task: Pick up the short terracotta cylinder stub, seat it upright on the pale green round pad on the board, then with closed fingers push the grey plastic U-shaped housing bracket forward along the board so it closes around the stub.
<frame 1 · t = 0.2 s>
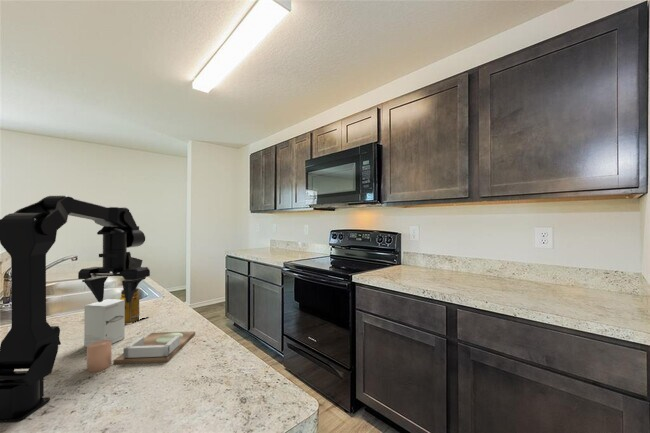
hand: (114, 302, 83), 14 cm above the countertop, tool pointing down, fingers open, 9 cm apart
supplement box: (105, 343, 88), on the countertop
stub: (99, 367, 73), on the countertop
housing bracket: (153, 346, 79), point 3 cm above the countertop, slide at 0.0 cm
condiment: (132, 320, 107), on the countertop
board: (159, 347, 84), on the countertop
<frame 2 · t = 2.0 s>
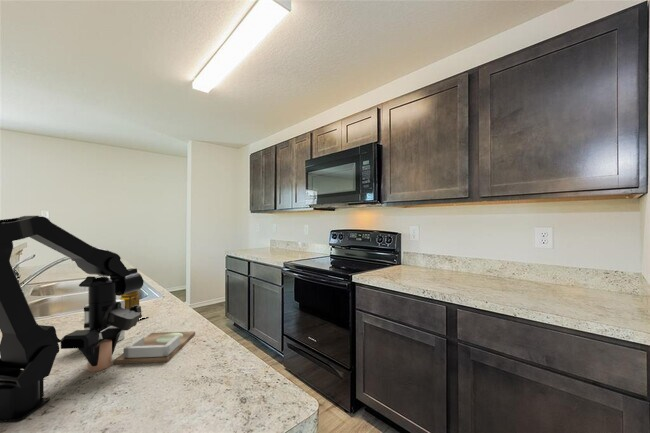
hand: (102, 360, 73), 1 cm above the countertop, tool pointing down, fingers closed on stub, 5 cm apart
stub: (100, 366, 73), on the countertop, touching gripper
everything else where it was.
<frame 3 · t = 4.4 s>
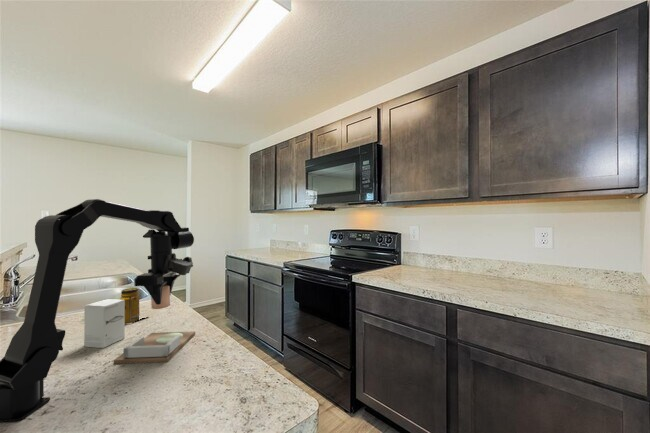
hand: (163, 301, 87), 13 cm above the countertop, tool pointing down, fingers closed on stub, 5 cm apart
stub: (161, 306, 87), point 11 cm above the countertop, touching gripper
everything else where it was.
when the fingers open (4 cm above the countertop, at t = 6.4 s): stub drops 2 cm, resting on board.
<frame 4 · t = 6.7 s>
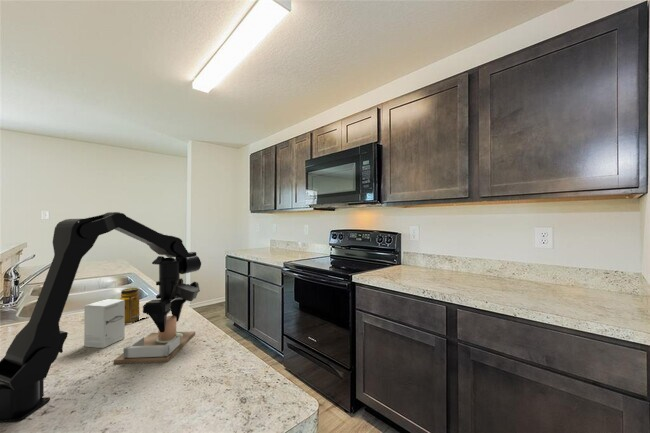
hand: (169, 326, 88), 4 cm above the countertop, tool pointing down, fingers open, 8 cm apart
stub: (167, 337, 88), point 1 cm above the countertop, touching board
everything else where it was.
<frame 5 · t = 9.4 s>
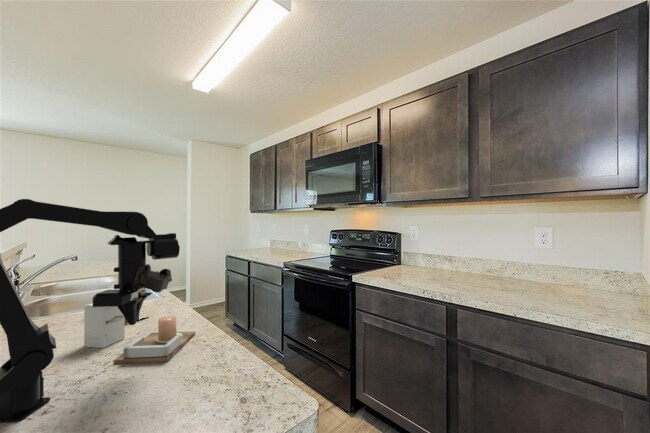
hand: (132, 324, 70), 12 cm above the countertop, tool pointing down, fingers closed
nothing on the countertop moved.
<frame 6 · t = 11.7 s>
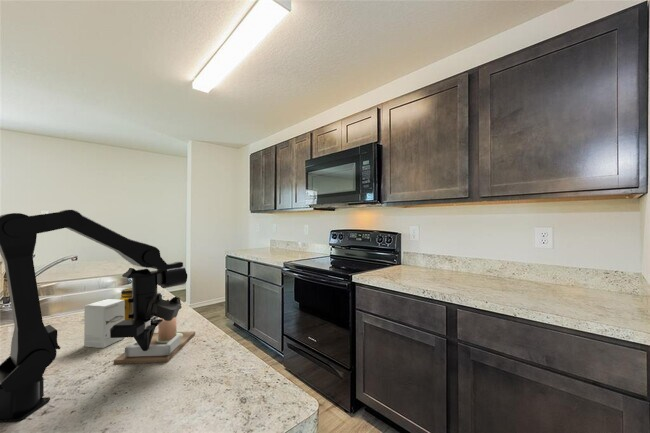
hand: (145, 350, 75), 3 cm above the countertop, tool pointing down, fingers closed
housing bracket: (154, 345, 79), point 3 cm above the countertop, slide at 0.5 cm, touching gripper
everything else where it was.
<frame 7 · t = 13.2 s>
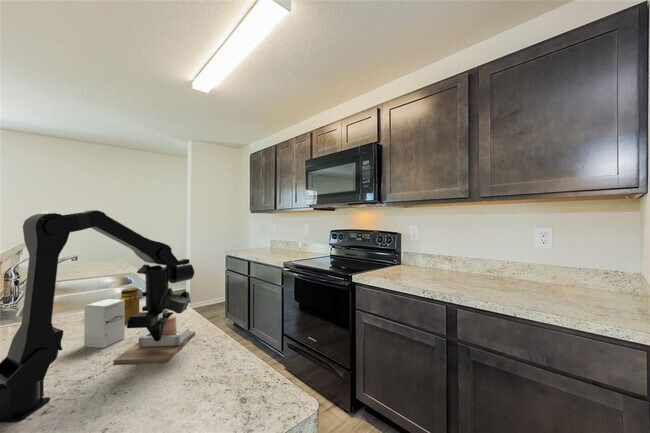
hand: (157, 340, 81), 3 cm above the countertop, tool pointing down, fingers closed
housing bracket: (165, 336, 85), point 3 cm above the countertop, slide at 6.6 cm, touching gripper
everything else where it was.
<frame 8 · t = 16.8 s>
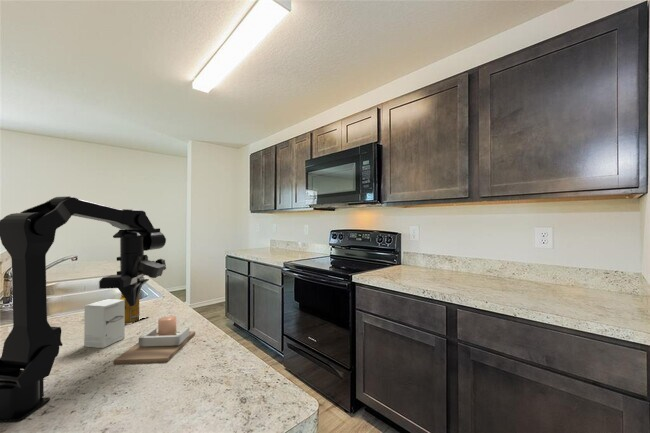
hand: (132, 305, 83), 13 cm above the countertop, tool pointing down, fingers closed
housing bracket: (165, 336, 85), point 3 cm above the countertop, slide at 6.6 cm
everything else where it was.
at the end: stub 0.7 cm from the target spot, point 1.1 cm above the countertop; stub tilted 0°; housing bracket slide at 6.6 cm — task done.
